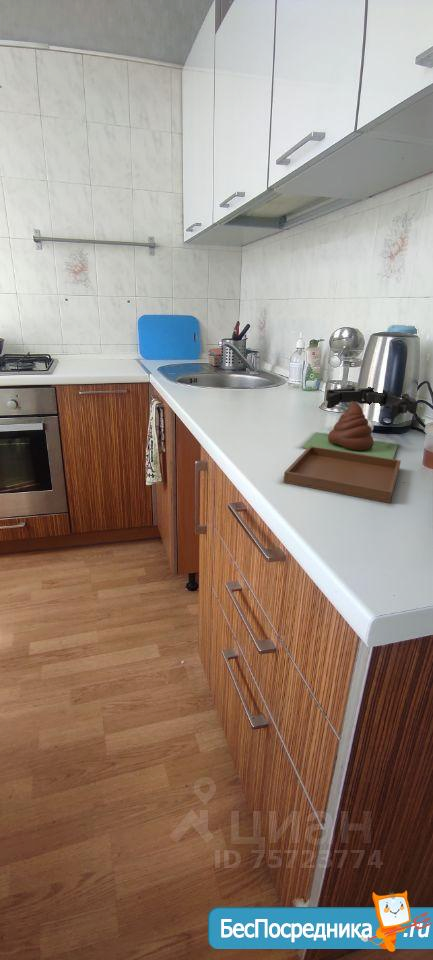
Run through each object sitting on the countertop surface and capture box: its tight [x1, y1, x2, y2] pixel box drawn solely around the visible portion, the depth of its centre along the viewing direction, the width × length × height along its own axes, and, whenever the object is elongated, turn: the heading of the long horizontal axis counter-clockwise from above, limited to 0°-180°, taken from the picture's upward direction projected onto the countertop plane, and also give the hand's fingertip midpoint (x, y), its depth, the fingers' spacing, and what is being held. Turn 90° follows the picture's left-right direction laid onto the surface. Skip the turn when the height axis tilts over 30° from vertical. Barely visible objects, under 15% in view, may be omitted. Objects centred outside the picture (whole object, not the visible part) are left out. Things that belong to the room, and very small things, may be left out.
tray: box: [283, 446, 402, 504], centre depth 83 cm, size 17×17×2 cm
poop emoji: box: [328, 401, 375, 451], centre depth 98 cm, size 10×8×9 cm
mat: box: [301, 432, 399, 459], centre depth 100 cm, size 18×13×1 cm
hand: (360, 407), depth 99 cm, fingers open, 13 cm apart
